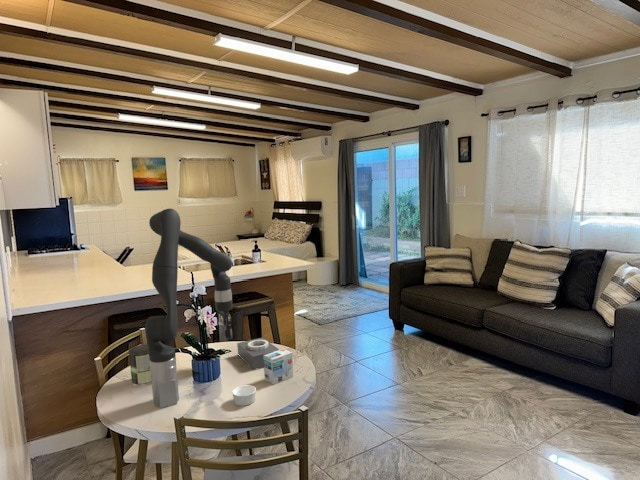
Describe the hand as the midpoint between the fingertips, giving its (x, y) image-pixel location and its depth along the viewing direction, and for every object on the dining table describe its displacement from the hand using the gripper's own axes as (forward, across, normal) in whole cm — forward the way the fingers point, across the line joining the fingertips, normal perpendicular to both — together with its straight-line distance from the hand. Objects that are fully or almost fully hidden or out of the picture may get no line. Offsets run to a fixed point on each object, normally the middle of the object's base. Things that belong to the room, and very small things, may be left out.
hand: (225, 335), depth 196 cm
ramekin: (+14, -37, +6) cm, 40 cm away
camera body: (+13, -3, -14) cm, 20 cm away
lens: (+2, 0, 0) cm, 2 cm away
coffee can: (+14, +3, +35) cm, 38 cm away
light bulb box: (+14, -27, -13) cm, 33 cm away
